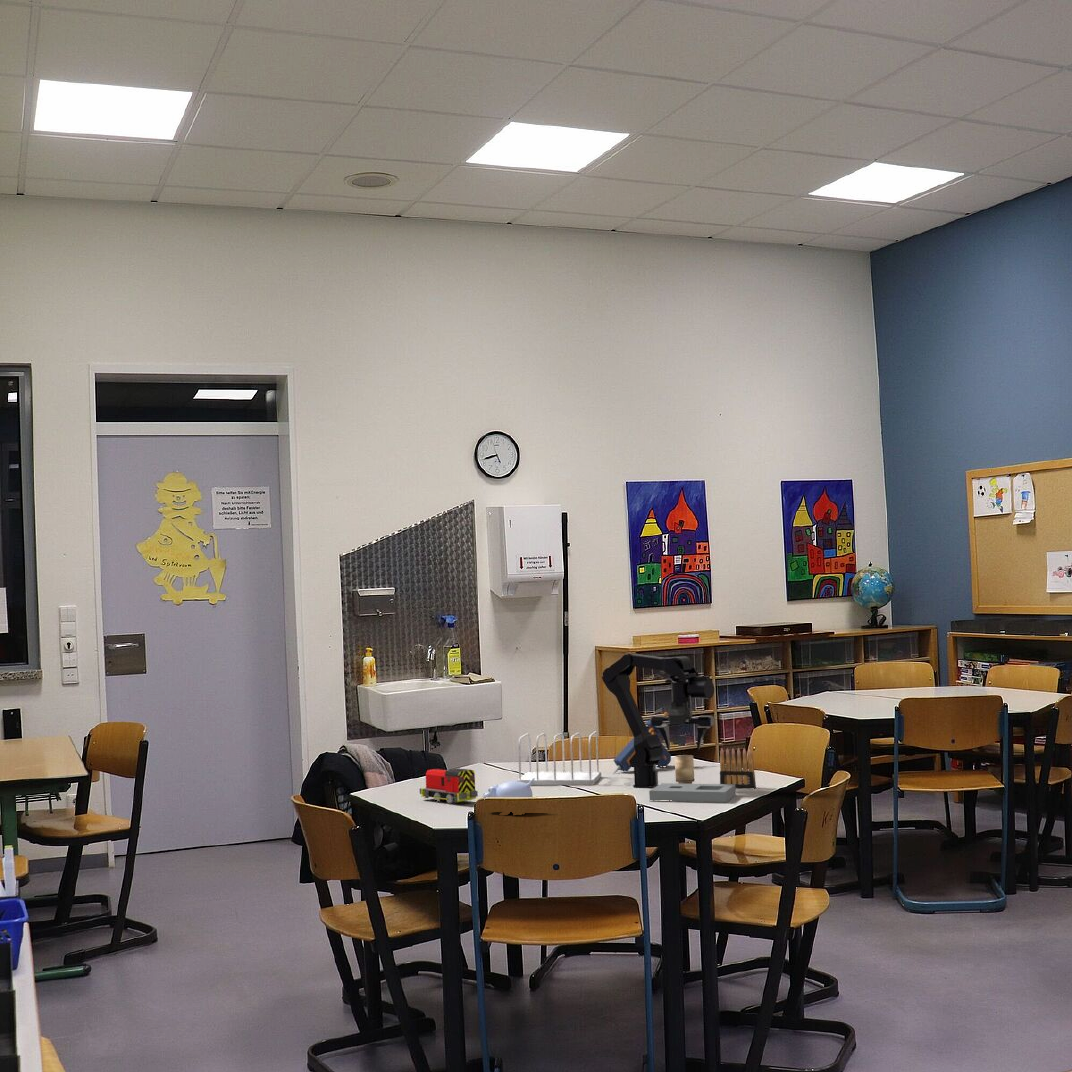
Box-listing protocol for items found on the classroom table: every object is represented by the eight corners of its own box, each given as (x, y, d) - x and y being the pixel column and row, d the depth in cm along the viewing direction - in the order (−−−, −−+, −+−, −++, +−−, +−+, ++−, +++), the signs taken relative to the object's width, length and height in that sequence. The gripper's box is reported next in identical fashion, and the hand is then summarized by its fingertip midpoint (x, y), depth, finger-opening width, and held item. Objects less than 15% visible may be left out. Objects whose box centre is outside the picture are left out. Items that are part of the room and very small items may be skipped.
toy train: (461, 806, 341) (459, 771, 342) (419, 800, 355) (418, 767, 356) (478, 803, 346) (477, 768, 347) (436, 797, 360) (435, 764, 361)
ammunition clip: (720, 787, 356) (718, 748, 357) (721, 786, 357) (719, 747, 358) (754, 788, 351) (752, 748, 352) (756, 787, 353) (754, 747, 354)
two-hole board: (649, 801, 337) (649, 790, 337) (662, 793, 350) (662, 783, 350) (725, 802, 329) (724, 792, 329) (735, 794, 342) (735, 784, 342)
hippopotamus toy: (489, 809, 334) (488, 775, 335) (540, 809, 331) (539, 775, 331) (478, 816, 324) (477, 781, 325) (531, 816, 320) (529, 781, 321)
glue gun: (628, 801, 399) (606, 768, 395) (675, 740, 417) (654, 708, 412) (640, 802, 395) (618, 768, 390) (687, 740, 412) (667, 707, 408)
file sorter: (516, 786, 377) (514, 737, 378) (527, 778, 394) (526, 731, 395) (593, 785, 372) (591, 735, 373) (601, 777, 389) (599, 730, 390)
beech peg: (674, 790, 354) (672, 757, 354) (678, 787, 359) (677, 754, 359) (692, 791, 351) (690, 757, 352) (696, 788, 357) (695, 755, 357)
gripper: (644, 700, 353) (646, 752, 352) (705, 700, 346) (707, 753, 345) (654, 697, 363) (656, 747, 362) (713, 696, 356) (716, 748, 356)
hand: (683, 749), depth 356 cm, fingers open, 9 cm apart
